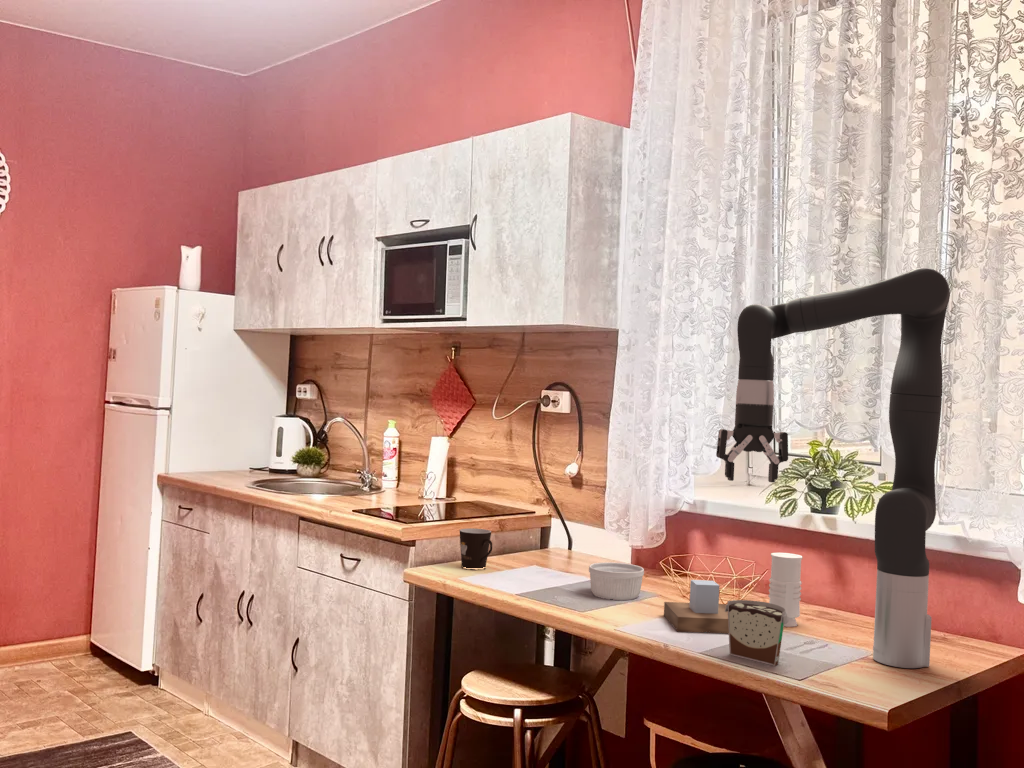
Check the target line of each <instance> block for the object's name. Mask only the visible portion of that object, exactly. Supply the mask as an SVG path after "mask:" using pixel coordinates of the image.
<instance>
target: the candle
mask: <svg viewBox="0 0 1024 768" xmlns="http://www.w3.org/2000/svg"><path fill="white" fill-rule="evenodd" d="M770 557H771V565H770V566H771V568H770V571H771V572H770V578H769V579H768V581H769V584H768V587H769V589H768V592H769V594H768V598H769V602H768V603H771V604H775V605H778V606H781V607H783V608H784V609H785V610H786V613H787V618H788V623H787V624H784V627H787V628H789V627H797V626H798V623H797V620H796V618H800V616H801V610H800V605H801V604H800V601H801V600H802V598H801V596H802V592H801V590H802V586H801V585H802V584H803V581H801V574H802V573H801V572H802V560H803V556H802V555H801V554H797V553H796V554H795V553H791V552H790V553H789V552H779V551H778V552H771V553H770Z"/></svg>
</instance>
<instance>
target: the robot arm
mask: <svg viewBox="0 0 1024 768" xmlns="http://www.w3.org/2000/svg"><path fill="white" fill-rule="evenodd" d="M950 297H951V290H950V286H949V283H948V280H947V279H946V277H945V276H944V275H943V274H942V273H941V272H939V271H938V270H936V269H932V268H929V267H918V268H915V269H913V270H911V271H907V272H905V273H902V274H899V275H897V276H893V277H891V278H888V279H885V280H882V281H878V282H875V283H870V284H866V285H863V286H858V287H854V288H848V289H847V288H846V289H840V290H834V291H829V292H821V293H817V294H812V295H807V296H802V297H797V298H794V299H791V300H789V301H788V302H784V303H779V304H774V305H767V306H765V305H763V304H759V303H754V304H752V303H751V304H749V305H747V306H746V307H744V308H743V309H742V310H741V312H740V313H739V316H738V319H737V326H736V327H737V331H736V332H737V342H738V343H737V344H738V352H739V360H738V361H739V362H738V372H737V373H738V375H737V376H738V377H737V379H738V381H737V386H736V393H735V409H734V410H735V411H734V412H735V415H734V416H735V417H734V427H733V430H728V429H725V428H721V429H719V430H718V436H717V445H716V452H715V453H716V455H715V456H716V457H717V458H718V459H721V460H723V461H724V463H725V464H724V465H725V466H724V476H725V478H726V479H727V481H731V482H733V481H734V478H735V462H734V461H735V459H736V458H737V457H738V456H739V455H740V454H741V453H742V452H747V453H748V452H749V453H750V452H756V453H763V454H764V455H765V456H766V457H767V459H768V461H769V462H770V463H769V464H768V474H767V476H768V479H767V481H768V482H769V483H775V482H776V480H778V477H779V465H780V464H781V463H784V462H788V460H789V433H787V432H786V431H779V432H774V430H773V422H774V421H773V420H774V403H775V388H774V376H775V375H774V374H775V373H774V372H775V360H774V355H773V353H772V340H773V339H778V338H781V337H784V336H785V337H786V336H790V335H792V334H796V333H807V332H812V331H813V332H814V331H817V330H824V329H828V328H835V327H838V326H840V325H841V326H843V325H845V324H848V323H852V322H855V321H859V320H864V319H866V318H868V319H869V318H873V317H879V316H887V315H900V344H899V345H900V346H899V349H898V354H897V357H896V362H895V366H894V369H893V374H892V379H891V386H890V395H889V403H888V404H889V407H888V422H889V423H888V424H889V429H890V431H889V432H890V436H891V440H892V446H893V451H894V458H895V461H894V462H895V463H894V465H895V466H894V473H893V474H894V476H893V481H892V488H891V490H889V491H887V492H885V493H884V494H883V495H882V496H881V497H880V498H879V500H878V502H877V504H876V508H875V514H874V515H875V516H874V517H875V518H874V554H875V558H876V562H877V565H876V582H875V583H876V588H875V608H874V627H873V630H874V631H873V645H872V658H873V660H874V661H876V662H878V663H880V664H883V665H887V666H891V667H896V668H902V669H919V668H920V669H921V668H924V667H926V668H927V667H928V668H929V667H930V661H931V643H932V642H931V640H932V637H931V636H932V621H933V620H932V615H930V614H928V604H929V603H928V601H929V598H928V597H929V578H930V576H929V575H930V560H929V559H928V556H927V553H926V538H927V537H926V535H927V533H926V531H928V530H929V529H930V528H931V527H932V525H933V524H934V521H935V520H936V519H935V518H936V517H937V516H936V515H937V504H936V502H937V501H936V481H935V480H936V477H935V476H936V475H935V472H936V471H935V469H936V468H935V467H936V457H937V449H938V442H939V432H940V423H941V417H942V404H943V403H942V402H943V362H942V361H943V360H942V358H943V357H942V339H943V338H942V337H943V331H944V325H945V320H946V316H947V315H946V314H947V309H948V306H949V303H950ZM731 437H732V438H733V440H735V443H734V444H733V446H732V447H731V448H730V450H729V451H728V453H726V450H727V442H728V441H729V440H730V439H731ZM774 439H775V442H776V443H777V445H778V455H776V453H775V451H774V449H773V447H772V446H771V445H770V444H771V442H773V440H774Z"/></svg>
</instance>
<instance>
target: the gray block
mask: <svg viewBox="0 0 1024 768" xmlns="http://www.w3.org/2000/svg"><path fill="white" fill-rule="evenodd" d="M689 603H690V605H689V607H690V608H691V609H692V610H693V611H694V612H695V613H713V614H718V607H719V604H720V584H718V583H717V582H715V580H705V579H704V580H702V579H690V586H689Z"/></svg>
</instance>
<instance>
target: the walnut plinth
mask: <svg viewBox="0 0 1024 768" xmlns="http://www.w3.org/2000/svg"><path fill="white" fill-rule="evenodd" d="M663 604H664V605H663V616H664V617H665V619H666V620H667V621H668V622H669V623H670V625H672V627H673V628H674V629H675V630H676V632H678V633H679V632H682V633H683V632H685V633H704V632H707V634H708V632H709V633H711V634H712V633H713V634H729V628H728V611H726V612H725V608H726V604H727V603H726V604H725V603H724V604H723V603H719V607H718V614H713V613H695V612H694V611H693V610H692V609H691V608H690V607H689V605H690V602H674V601H664V603H663Z"/></svg>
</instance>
